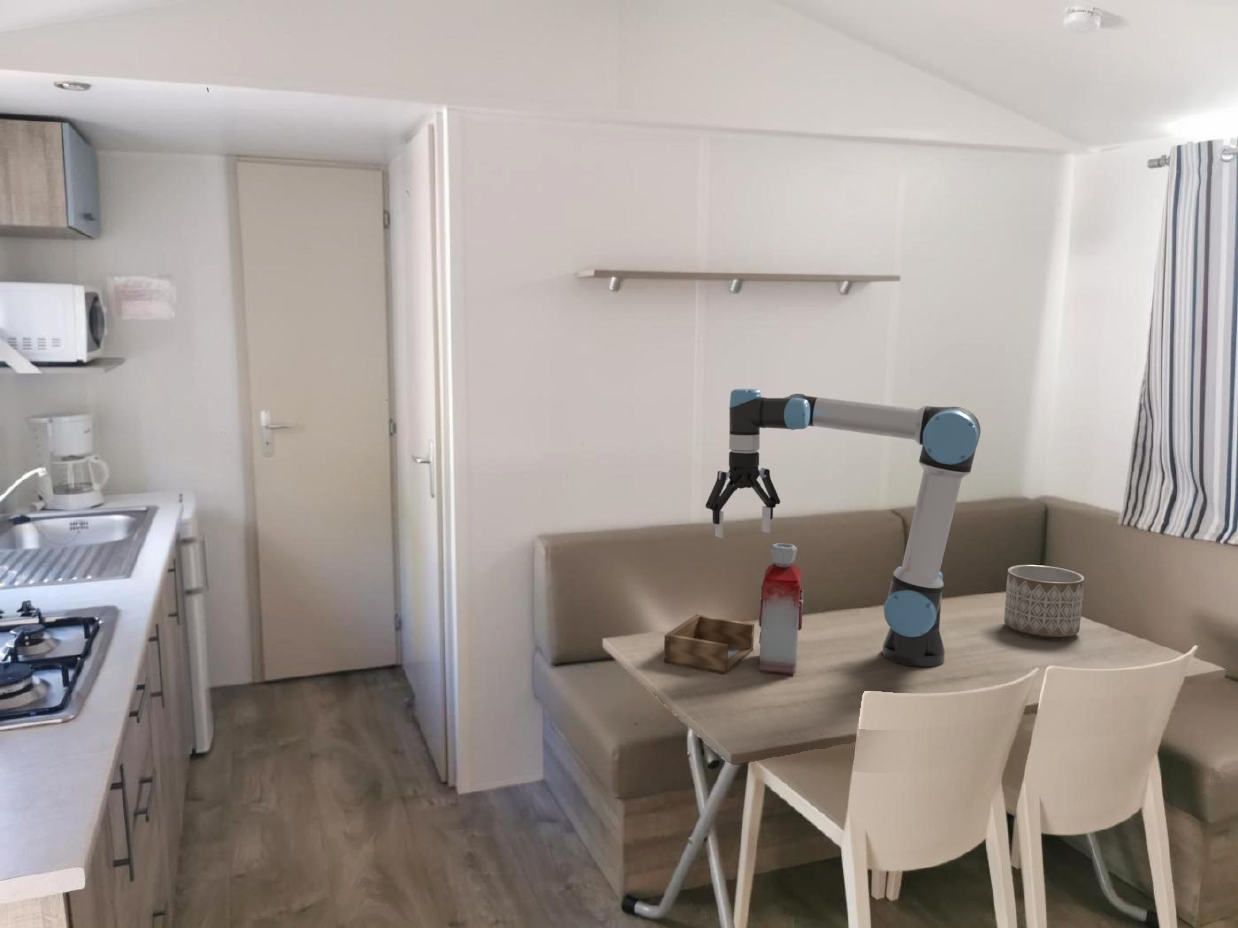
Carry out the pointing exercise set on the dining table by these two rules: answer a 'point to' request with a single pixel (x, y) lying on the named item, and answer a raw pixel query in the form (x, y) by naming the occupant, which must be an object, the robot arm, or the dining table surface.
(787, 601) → the bottle
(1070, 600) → the planter
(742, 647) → the wooden tray box
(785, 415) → the robot arm
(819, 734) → the dining table surface
